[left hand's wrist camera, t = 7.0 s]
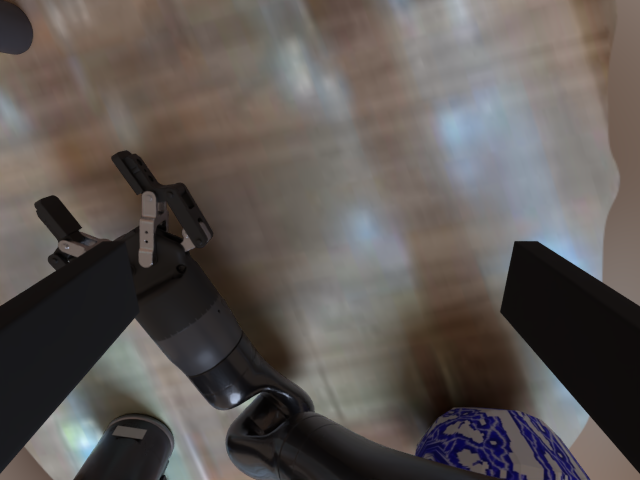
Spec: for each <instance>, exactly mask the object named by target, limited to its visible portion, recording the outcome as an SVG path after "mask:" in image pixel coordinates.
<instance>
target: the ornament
mask: <svg viewBox="0 0 640 480" xmlns="http://www.w3.org/2000/svg"><path fill="white" fill-rule="evenodd" d="M415 456H418V457H422V458H425V459H429V460H433V461H436V462H440V463H443V464H447V465H450V466H453V467H457V468H461V469H465V470H469V471H473V472H477V473H481V474H485V475H489V476H493V477H497V478H501V479H505V480H590V478H589V477H588V476H587V474H586V473H585V472H584V470H583V469H582V467H581V466H580V465H579V463H578V462H577V461H576V459H575V458H574V457H573V455H572V454H571V452H570V451H569V450H568V448H567V447H566V446H565V444H564V443H563V441H562V440H561V439H560V438H559V437H558V436H557V435H556V434H555V433H554V432H553V431H552V430H551V429H550V428H549V427H548V426H547V425H546V424H545V423H544V422H543V421H542V420H540V419H537V418H535V417H533V416H530V415H528V414H525V413H523V412H521V411H518V410H506V409H492V408H478V407H457V408H452V409H451V410H449V411H448V412H446V413H445V414H443V415H441V416H440V417H438V418H437V419H436V421H435V422H434V423H433V425H432V426H431V427H430V429H429V430H428V431H427V432H426V434H425V435H424V436H423V438H422V439H421V440H420V442H419V443H418V444H417V448H416V454H415Z"/></svg>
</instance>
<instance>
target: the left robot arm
mask: <svg viewBox="0 0 640 480" xmlns="http://www.w3.org/2000/svg"><path fill="white" fill-rule="evenodd" d="M139 312H140V310H139V305H138V301H137V296H136V291H135V286H134V281H133V276H132V271H131V266H130V261H129V257H128V252H127V247H126V242H125V241H102V242H101V243H99V244H98V245H96V246H94V247H93V248H91V249H90V250H88V251H87V252H85V253H83V254H82V255H80V256H79V257H77V258H76V259H74V260H72V261H71V262H69V263H68V264H66V265H65V266H63V267H61V268H60V269H58V270H57V271H55V272H53V273H52V274H50V275H49V276H47V277H46V278H44V279H42V280H41V281H39V282H38V283H36V284H35V285H33V286H31V287H30V288H28V289H27V290H25V291H24V292H22V293H20V294H19V295H17V296H16V297H14V298H13V299H11V300H9V301H8V302H6V303H5V304H3V305H1V306H0V473H1V472H2V471H3V470H4V469H5V467H6V466H7V465H8V464H9V463H10V462H11V461H12V459H13V458H14V457H15V456H16V455H17V454H18V452H19V451H20V450H21V449H22V448H23V447H24V446H25V444H26V443H27V442H28V441H29V440H30V439H31V437H32V436H33V435H34V434H35V433H36V432H37V430H38V429H39V428H40V427H41V426H42V425H43V424H44V422H45V421H46V420H47V419H48V418H49V417H50V415H51V414H52V413H53V412H54V411H55V410H56V408H57V407H58V406H59V405H60V404H61V403H62V402H63V400H64V399H65V398H66V397H67V396H68V395H69V393H70V392H71V391H72V390H73V389H74V388H75V386H76V385H77V384H78V383H79V382H80V381H81V380H82V378H83V377H84V376H85V375H86V374H87V373H88V371H89V370H90V369H91V368H92V367H93V366H94V364H95V363H96V362H97V361H98V360H99V359H100V358H101V356H102V355H103V354H104V353H105V352H106V351H107V349H108V348H109V347H110V346H111V345H112V344H113V342H114V341H115V340H116V339H117V338H118V337H119V336H120V334H121V333H122V332H123V331H124V330H125V329H126V327H127V326H128V325H129V324H130V323H131V322H132V320H133V319H134V318H135V317H136V316H137V315H138V314H139ZM500 312H501V314H502V315H503V316H504V317H505V318H506V319H507V320H508V322H509V323H510V324H511V325H512V326H513V327H514V329H515V330H516V331H517V332H518V333H519V334H520V336H521V337H522V338H523V339H524V340H525V341H526V342H527V344H528V345H529V346H530V347H531V348H532V349H533V351H534V352H535V353H536V354H537V355H538V356H539V358H540V359H541V360H542V361H543V362H544V363H545V364H546V366H547V367H548V368H549V369H550V370H551V371H552V373H553V374H554V375H555V376H556V377H557V378H558V380H559V381H560V382H561V383H562V384H563V385H564V386H565V388H566V389H567V390H568V391H569V392H570V393H571V395H572V396H573V397H574V398H575V399H576V400H577V402H578V403H579V404H580V405H581V406H582V407H583V408H584V410H585V411H586V412H587V413H588V414H589V415H590V417H591V418H592V419H593V420H594V421H595V422H596V424H597V425H598V426H599V427H600V428H601V429H602V430H603V432H604V433H605V434H606V435H607V436H608V437H609V439H610V440H611V441H612V442H613V443H614V444H615V445H616V447H617V448H618V449H619V450H620V451H621V452H622V454H623V455H624V456H625V457H626V458H627V459H628V461H629V462H630V463H631V464H632V465H633V466H634V468H635V469H636V470H637V471H638V472H639V473H640V306H638V305H637V304H635V303H634V302H632V301H631V300H629V299H627V298H626V297H624V296H623V295H621V294H620V293H618V292H616V291H615V290H613V289H612V288H610V287H609V286H607V285H605V284H604V283H602V282H601V281H599V280H598V279H596V278H594V277H593V276H591V275H590V274H588V273H587V272H585V271H583V270H582V269H580V268H579V267H577V266H575V265H574V264H572V263H571V262H569V261H568V260H566V259H564V258H563V257H561V256H560V255H558V254H557V253H555V252H553V251H552V250H550V249H549V248H547V247H546V246H544V245H542V244H541V243H539V242H538V241H515V242H514V247H513V252H512V257H511V261H510V266H509V271H508V276H507V281H506V286H505V291H504V296H503V301H502V305H501V310H500Z"/></svg>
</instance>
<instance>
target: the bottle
mask: <svg viewBox="0 0 640 480" xmlns="http://www.w3.org/2000/svg"><path fill="white" fill-rule="evenodd" d="M32 39H33V31H32V27H31V24H30V21H29V19H28V18H27V16H26V15H25V14H24V12H23V11H22V10H21V9H19V8H18V7H17V6H15V5H14V4H12V3H9V2H6V1H4V0H0V52H3V53H8V54H21V53H23V52H25V51H26V50H28V48H29V47H30V45H31V43H32Z"/></svg>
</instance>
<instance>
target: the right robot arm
mask: <svg viewBox="0 0 640 480" xmlns="http://www.w3.org/2000/svg"><path fill="white" fill-rule="evenodd" d="M111 159H112V161H113V162H114V164H115V165H116V167H117V168H118V169H119V171H120V172H121V173H122V175H123V176H124V178H125V179H126V180H127V182H128V183H129V185H130V186H131V187H132V189H133V190H134V191H135V193H136V194H137V195H138V194H140V193H141V194H142V216H141V218H140V222H139V226H138V227H136V228H135V229H133V230H132V231H130V232H129V233H127V234H124V235H122V236H120V237H119V238H117V239H115V240H114V241H125V242H126V247H127V252H128V257H129V261H130V266H131V271H132V276H133V281H134V286H135V291H136V296H137V301H138V305H139V310H140V312H139V314H138V315H137V316H136V317H135V319H136V320H137V321H138V322H139V324H140V325H141V326H142V327H143V329H144V330H145V331H146V332H147V333H148V335H149V336H150V337H151V338H152V339H153V341H154V342H155V343H156V344H157V345H158V347H159V348H160V349H161V350H162V352H163V353H164V354H165V355H166V356H167V358H168V359H169V360H170V361H171V362H172V363H173V364H175V365H176V366H177V367H178V368H179V369H180V370H181V371H182V372H183V373H184V374H185V375H186V376H187V377H188V379H189V380H190V381H191V382H192V383H193V385H194V386H195V387H196V388H197V390H198V391H199V392H200V393H201V394H202V396H203V397H204V398H205V399H206V400H207V402H208V403H209V404H210V405H212V406H213V407H214V408H216V409H218V410H228V409H232V408H234V407H237V406H239V405H240V404H242V403H244V402H245V401H247V400H248V399H250V398H252V397H253V396H255V395H257V394H259V393H260V395H258V396H257V397H256V398H255V399H254V400H253V401H252V403H251V404H250V405H249V406H248V407H247V408H246V409H245V410H244V411H243V412H242V413H241V414H240V415H239V416H238V417H237V418H236V419H235V420H234V421H233V423H232V424H231V425H230V427H229V429H228V432H227V435H226V450H227V453H228V456H229V458H230V460H231V461H232V463H233V464H234V465H235V466H236V467H237V468H238V469H239V470H240V471H241V472H243V473H244V474H246V475H247V476H249V477H251V478H253V479H256V480H505V479H501V478H497V477H493V476H489V475H485V474H481V473H477V472H473V471H469V470H465V469H461V468H457V467H453V466H450V465H447V464H443V463H440V462H436V461H433V460H429V459H425V458H422V457H418V456H415V455H411V454H408V453H404V452H401V451H398V450H394V449H391V448H389V447H386V446H383V445H381V444H378V443H376V442H373V441H371V440H369V439H367V438H365V437H363V436H361V435H359V434H357V433H355V432H353V431H351V430H349V429H347V428H345V427H343V426H341V425H340V424H338V423H336V422H334V421H332V420H330V419H328V418H326V417H324V416H322V415H320V414H318V413H315V409H314V405H313V402H312V400H311V398H310V397H309V395H308V394H307V393H306V392H305V391H304V390H303V389H301V388H300V387H299V386H298V385H296V384H295V383H293V382H292V381H290V380H289V379H287V378H286V377H284V376H283V375H282V374H280V373H279V372H278V371H276V370H275V369H274V368H273V367H272V366H271V365H270V364H268V363H267V362H266V360H265V359H264V358H263V357H262V356H261V355H260V354H259V353H258V351H257V350H256V349H255V347H254V346H253V344H252V343H251V342H250V340H249V339H248V337H247V336H246V335H245V333H244V332H243V330H242V329H241V328H240V326H239V324H238V322H237V320H236V318H235V316H234V315H233V313H232V311H231V310H230V308H229V307H228V305H227V303H226V301H225V300H224V299H223V298H222V297H221V296H220V294H219V293H218V291H217V290H216V288H215V287H214V286H213V284H212V283H211V281H210V280H209V279H208V277H207V276H206V274H205V273H204V272H203V270H202V269H201V267H200V266H199V265H198V263H197V262H196V261H194V260H193V259H192V258H191V256H190V253H189V250H190V249H193V248H195V247H197V248H203V247H204V246H205V245H206V244H207V243H208V241H209V240H210V239H211V238H212V236H213V231H212V229H211V228H210V226H209V224H208V223H207V221H206V219H205V218H204V216H203V214H202V213H201V211H200V209H199V208H198V206H197V204H196V203H195V201H194V199H193V198H192V196H191V194H190V192H189V191H188V189H187V187H186V186H185V185H184V184H183V183H176V184H172V185H161V184H160V183H158V182H157V180H156V179H155V177H154V176H153V174H152V173H151V172H150V170H149V169H148V168H147V166H146V164H145V163H144V162H143V160H142V159H141V157H139V156H138V155H136V154H131V153H130V152H129V151H127V150H126V151H121V152H118V153H116V154H115V155H113V156H112V157H111ZM167 203H168V204H169V206H170V208H171V209H172V211H173V212H174V214H175V216H176V217H177V219H178V221H179V222H180V224H181V225H182V227H183V230H182V235H183V239H182V238H180V237H178V236H175V235H173V234H171V233H168V228H169V212H168V211H167ZM34 205H35V208H36V209H37V211H36V212H37V215H38V217H39V218H40V219H41V221H42V222H43V223H44V224H45V225H46V227H47V228H48V229H49V230H50V231H51V232H52V234H53V235H54V236H55V237H56V238H57V240H58V248H57V249H56V251H55V252H54V253H53V254H52V255H50V256H49V257H48V262H49V263H50V265H51V266H52V267H53V268H54V269H55V270H56V271H57V270H58V269H60V268H61V267H63V266H65V265H66V264H68V263H69V262H71V261H72V260H74V259H76V258H77V257H79V256H80V255H82V254H83V253H85V252H87V251H88V250H90V249H91V248H93V247H94V246H96V245H98V244H99V243H101V242H102V241H111V240H108V239H98V238H96V237H93V236H91V235H88V234H86V233H83V232H79V229H81V228H82V227H81V226H80V224H79V223H78V222H77V221H76V219H75V218H74V217H73V216H72V214H71V213H70V212H69V211H68V210H67V208H66V207H65V206H64V205H63V203H62V202H61V201H60V200H59V198H58V197H56V196H54V195H52V196H49V197H46V198H42V199H40V200H39V201H37V202H36V203H35V204H34ZM68 261H69V262H68ZM173 449H174V438H173V436H172V434H171V432H170V430H169V429H168V428H167V427H166V426H165V425H164V424H163V423H161V422H160V421H158V420H156V419H154V418H152V417H149V416H146V415H140V414H128V415H124V416H121V417H118V418H116V419H115V420H113V421H112V422H111V423H110V424H109V426H108V427H107V429H106V430H105V432H104V435H103V436H102V438H101V439H100V441H99V442H98V444H97V445H96V447H95V448H94V449H93V451H92V452H91V454H90V455H89V457H88V458H87V460H86V461H85V463H84V464H83V466H82V467H81V469H80V470H79V472H78V473H77V475H76V476H75V478H74V479H73V480H166V477H165V475H164V472H165V470H166V468H167V465H168V463H169V460H168V459H169V458H170V456H171V454H172V451H173Z"/></svg>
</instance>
